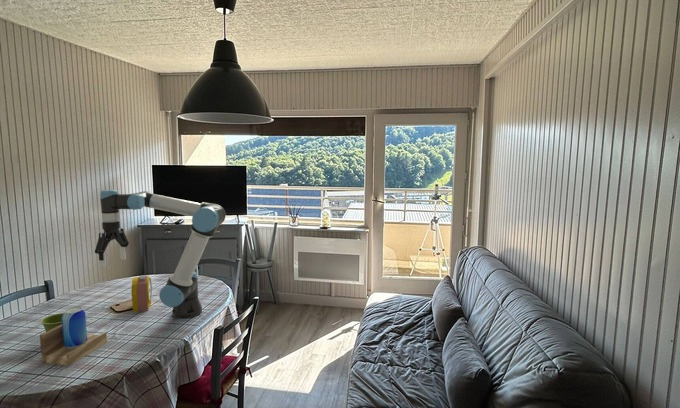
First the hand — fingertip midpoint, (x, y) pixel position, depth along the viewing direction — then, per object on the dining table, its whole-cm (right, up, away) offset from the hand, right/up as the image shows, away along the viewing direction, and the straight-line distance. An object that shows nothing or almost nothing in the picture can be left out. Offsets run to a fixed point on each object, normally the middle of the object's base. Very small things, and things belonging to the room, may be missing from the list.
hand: (113, 262), depth 191 cm
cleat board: (-1, -35, -25) cm, 43 cm away
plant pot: (-16, -34, -16) cm, 41 cm away
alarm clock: (+2, -29, +25) cm, 38 cm away
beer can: (-1, -32, -25) cm, 41 cm away
